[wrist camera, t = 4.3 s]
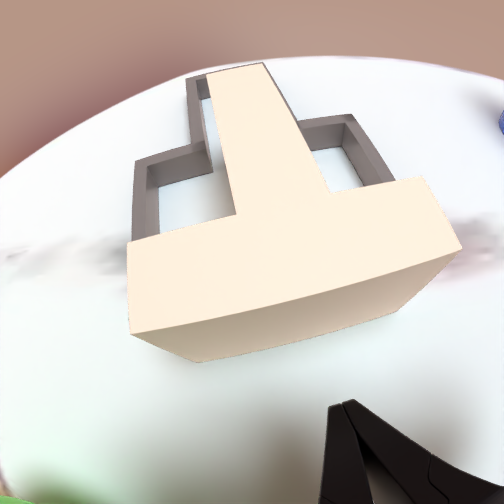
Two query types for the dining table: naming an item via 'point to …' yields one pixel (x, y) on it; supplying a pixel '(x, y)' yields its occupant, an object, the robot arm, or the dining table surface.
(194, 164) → the t outline
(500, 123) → the water bottle
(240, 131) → the t block
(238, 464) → the dining table surface
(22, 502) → the green rounded blob
